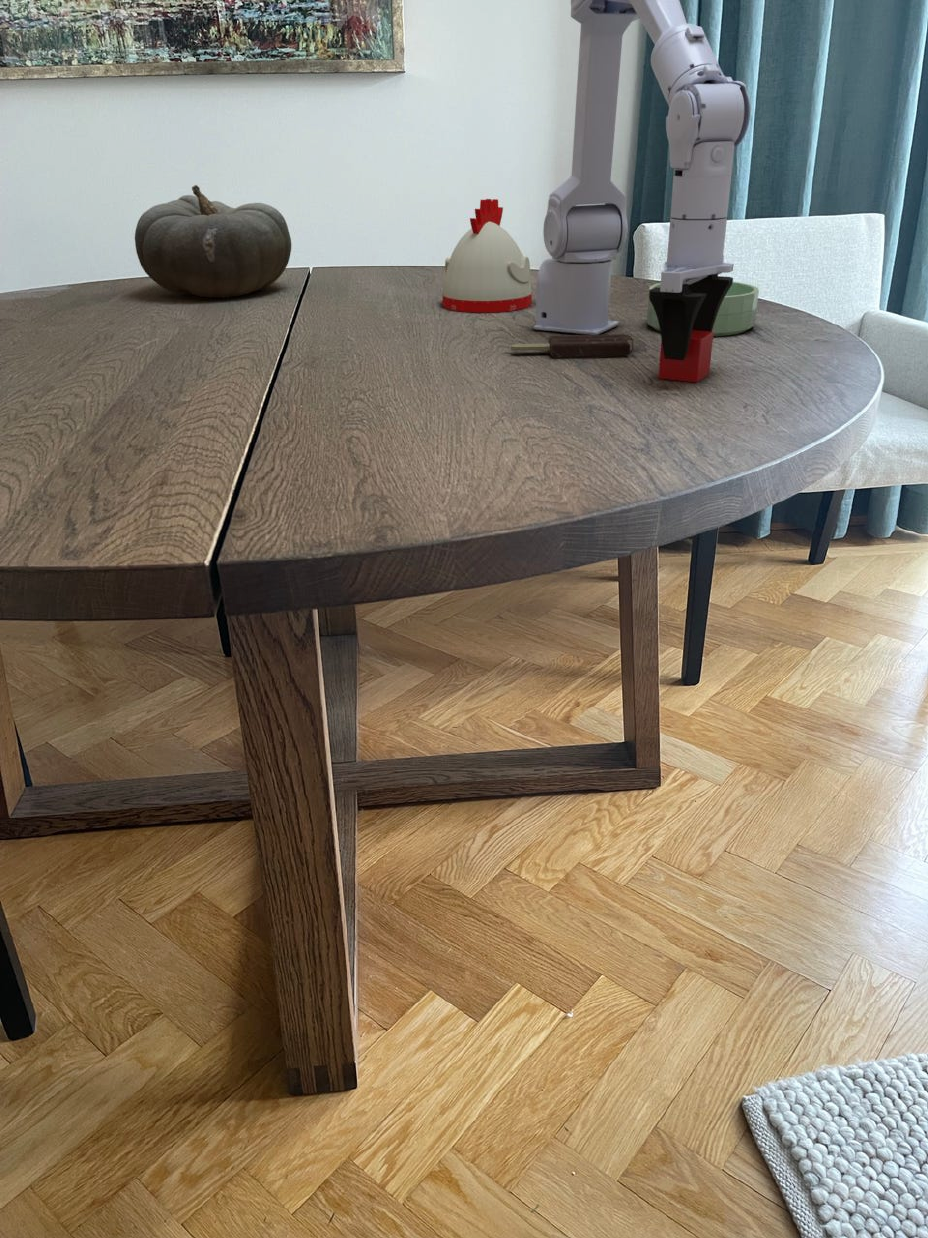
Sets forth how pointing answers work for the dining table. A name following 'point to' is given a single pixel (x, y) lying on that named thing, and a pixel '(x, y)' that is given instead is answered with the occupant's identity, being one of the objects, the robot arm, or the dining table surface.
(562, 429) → the dining table surface
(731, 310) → the bowl
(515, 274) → the kitchen timer
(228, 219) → the gourd
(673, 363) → the red cube
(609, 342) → the ice cream bar
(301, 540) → the dining table surface
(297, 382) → the dining table surface
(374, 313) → the dining table surface
